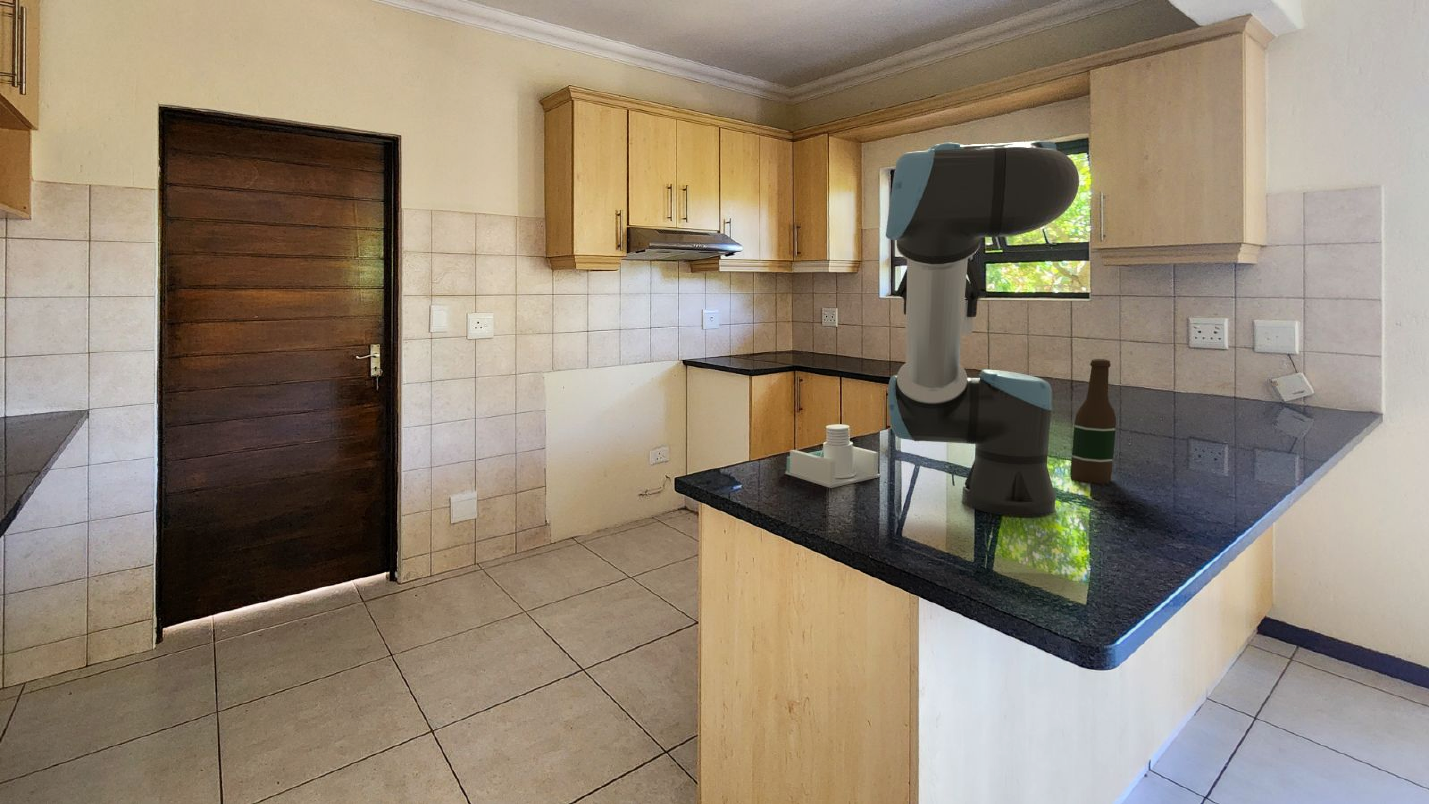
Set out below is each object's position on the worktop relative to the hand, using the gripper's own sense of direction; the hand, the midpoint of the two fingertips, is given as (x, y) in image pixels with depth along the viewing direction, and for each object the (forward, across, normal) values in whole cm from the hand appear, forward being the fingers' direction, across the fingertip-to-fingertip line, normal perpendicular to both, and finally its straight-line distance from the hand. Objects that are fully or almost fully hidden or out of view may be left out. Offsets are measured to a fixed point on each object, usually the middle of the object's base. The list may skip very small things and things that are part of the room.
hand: (937, 332), depth 145 cm
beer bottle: (+29, -24, -19) cm, 42 cm away
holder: (+29, +8, +21) cm, 36 cm away
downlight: (+28, +6, +21) cm, 36 cm away
